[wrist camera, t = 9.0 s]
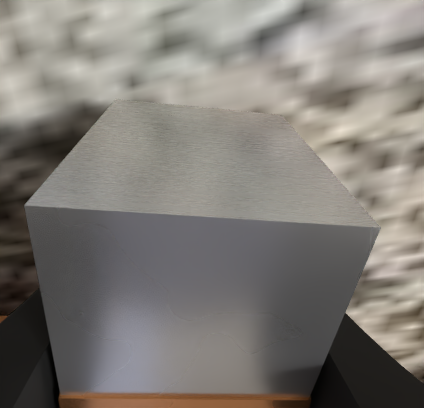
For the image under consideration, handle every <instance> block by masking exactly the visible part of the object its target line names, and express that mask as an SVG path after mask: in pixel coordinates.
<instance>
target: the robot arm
mask: <svg viewBox="0 0 424 408" xmlns="http://www.w3.org/2000/svg"><path fill="white" fill-rule="evenodd" d="M59 394H60V390H59V385H58V379H57V374H56V369H55V364H54V359H53V353H52V348H51V343H50V338H49V333H48V327H47V322H46V317H45V312H44V307H43V301H42V296H41V291H40V288H39V289H38V290H36V291H35V292H34V293H33V294H32V295H31V296H30V297H29V298H28V299H27V300H26V301H25V302H23V303H22V304H21V305H20V306H19V307H18V308H17V309H16V310H15V311H14V312H12V313H11V314H10V315H9V316H8V317H6V318H5V319H4V320H3V321H2V322H1V323H0V408H60V405H59V400H58V397H59ZM310 397H311V403H310V405H309V407H308V408H424V384H423V383H422V382H420V381H419V380H418V379H417V378H416V377H414V376H413V375H412V374H411V373H410V372H408V371H407V370H406V369H405V368H404V367H403V366H401V365H400V364H399V363H398V362H397V361H396V360H395V359H393V358H392V357H391V356H390V355H389V354H388V353H387V352H386V351H385V350H383V349H382V348H381V347H380V346H379V345H378V344H377V343H376V342H375V341H374V340H373V339H372V338H371V337H370V336H368V335H367V334H366V333H365V332H364V331H363V330H362V329H361V328H360V327H359V326H358V325H357V324H356V323H355V322H354V321H353V320H352V319H351V318H350V317H349V316H348V315H347V314H346V313H345V314H344V316H343V319H342V321H341V324H340V326H339V328H338V331H337V333H336V335H335V338H334V340H333V343H332V345H331V347H330V350H329V352H328V354H327V357H326V359H325V362H324V364H323V366H322V369H321V371H320V373H319V376H318V378H317V380H316V383H315V385H314V388H313V390H312V392H311V395H310Z"/></svg>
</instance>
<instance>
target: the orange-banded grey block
mask: <svg viewBox="0 0 424 408" xmlns="http://www.w3.org/2000/svg"><path fill="white" fill-rule="evenodd" d="M24 208H25V213H26V218H27V223H28V229H29V234H30V239H31V244H32V249H33V255H34V260H35V265H36V270H37V275H38V281H39V286H40V291H41V296H42V301H43V307H44V312H45V317H46V322H47V327H48V333H49V338H50V343H51V348H52V353H53V359H54V364H55V369H56V374H57V379H58V385H59V390H60V394H59V397H58V400H59V405H60V408H308V407H309V405H310V403H311V397H310V395H311V392H312V390H313V388H314V385H315V383H316V380H317V378H318V376H319V373H320V371H321V369H322V366H323V364H324V362H325V359H326V357H327V354H328V352H329V350H330V347H331V345H332V343H333V340H334V338H335V335H336V333H337V331H338V328H339V326H340V324H341V321H342V319H343V316H344V314H345V312H346V309H347V307H348V305H349V302H350V300H351V297H352V295H353V293H354V290H355V288H356V286H357V283H358V281H359V279H360V276H361V274H362V271H363V269H364V267H365V264H366V262H367V260H368V257H369V255H370V252H371V250H372V248H373V245H374V243H375V241H376V238H377V236H378V233H379V231H380V229H381V227H380V226H379V225H378V224H377V223H376V222H375V220H374V219H373V218H372V217H371V216H370V215H369V214H368V212H367V211H366V210H365V209H364V208H363V207H362V206H361V204H360V203H359V202H358V201H357V200H356V199H355V198H354V197H353V195H352V194H351V193H350V192H349V191H348V190H347V189H346V187H345V186H344V185H343V184H342V183H341V182H340V181H339V180H338V178H337V177H336V176H335V175H334V174H333V173H332V172H331V170H330V169H329V168H328V167H327V166H326V165H325V164H324V162H323V161H322V160H321V159H320V158H319V157H318V156H317V155H316V153H315V152H314V151H313V150H312V149H311V148H310V147H309V145H308V144H307V143H306V142H305V141H304V140H303V139H302V137H301V136H300V135H299V134H298V133H297V132H296V131H295V130H294V128H293V127H292V126H291V125H290V124H289V123H288V122H287V120H286V119H285V118H284V117H283V116H282V115H278V114H267V113H257V112H246V111H235V110H225V109H214V108H204V107H193V106H183V105H172V104H161V103H151V102H140V101H130V100H119V99H116V100H115V101H114V102H113V103H112V104H111V105H110V106H109V108H108V109H107V110H106V111H105V112H104V113H103V115H102V116H101V117H100V118H99V119H98V120H97V122H96V123H95V124H94V125H93V126H92V127H91V128H90V130H89V131H88V132H87V133H86V134H85V135H84V137H83V138H82V139H81V140H80V141H79V142H78V144H77V145H76V146H75V147H74V148H73V149H72V151H71V152H70V153H69V154H68V155H67V156H66V157H65V159H64V160H63V161H62V162H61V163H60V164H59V166H58V167H57V168H56V169H55V170H54V171H53V173H52V174H51V175H50V176H49V177H48V178H47V179H46V181H45V182H44V183H43V184H42V185H41V186H40V188H39V189H38V190H37V191H36V192H35V193H34V195H33V196H32V197H31V198H30V199H29V200H28V202H27V203H26V204H25V205H24Z"/></svg>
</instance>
